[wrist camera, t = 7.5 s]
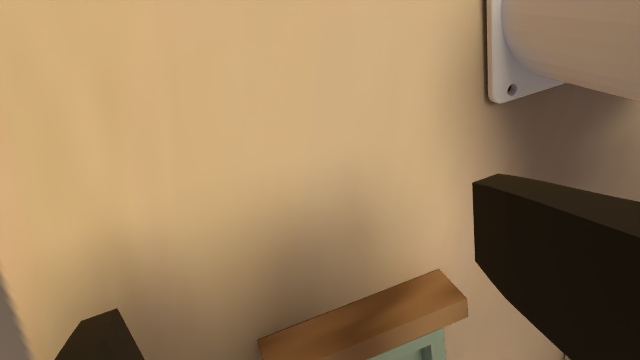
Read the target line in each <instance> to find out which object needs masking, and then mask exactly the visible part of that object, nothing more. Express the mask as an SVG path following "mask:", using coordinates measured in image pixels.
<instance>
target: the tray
mask: <svg viewBox="0 0 640 360" xmlns="http://www.w3.org/2000/svg"><path fill="white" fill-rule="evenodd" d="M366 360H446V352H445V340H444V328H443V327H442V328H440V329H438V330H435V331H433V332H430V333H428V334H426V335H423V336H421V337H419V338H416V339H414V340H411V341H409V342H407V343H404V344H402V345H400V346H397V347H395V348H392V349H390V350H388V351H385V352H383V353H381V354H378V355H376V356H373V357H371V358H369V359H366Z"/></svg>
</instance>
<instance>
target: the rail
mask: <svg viewBox="0 0 640 360" xmlns="http://www.w3.org/2000/svg"><path fill="white" fill-rule="evenodd" d="M466 317H468V307H467V298H466V297H465V296H464V295H463V294H462V293H461V292H460V291H459V290H458V288H457V287H456V286H455V285H454V284H453V283H452V282H451V281H450V280H449V279H448V278H447V277H446V276H445V275H444V274H443V273H442V272H441V271H440V270H439V269H438V270H436V271H433V272H431V273H428V274H425V275H423V276H420V277H418V278H415V279H413V280H410V281H408V282H405V283H402V284H400V285H397V286H395V287H392V288H390V289H387V290H385V291H382V292H379V293H377V294H374V295H372V296H369V297H367V298H364V299H362V300H359V301H356V302H354V303H351V304H349V305H346V306H344V307H341V308H338V309H336V310H333V311H331V312H328V313H326V314H323V315H321V316H318V317H315V318H313V319H310V320H308V321H305V322H303V323H300V324H298V325H295V326H292V327H290V328H287V329H285V330H282V331H280V332H277V333H275V334H272V335H269V336H267V337H264V338H262V339H259V340H258V343H259V347H260V351H261V354H262V358H263V360H366V359H369V358H371V357H373V356H376V355H378V354H381V353H383V352H385V351H388V350H390V349H392V348H395V347H397V346H400V345H402V344H404V343H407V342H409V341H411V340H414V339H416V338H419V337H421V336H423V335H426V334H428V333H430V332H433V331H435V330H438V329H440V328H442V327H445V326H447V325H449V324H452V323H454V322H457V321H459V320H461V319H464V318H466Z"/></svg>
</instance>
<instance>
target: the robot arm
mask: <svg viewBox="0 0 640 360" xmlns="http://www.w3.org/2000/svg"><path fill="white" fill-rule="evenodd" d="M487 56H488V96H489V99H490V100H491V101H493V102H495V103H498V104H501V103H505V102H508V101H511V100H514V99H518V98H521V97H524V96H527V95H530V94H533V93H536V92H540V91H543V90H546V89H549V88H552V87H555V86H558V85H562V84H565V83H569V84H573V85H577V86H581V87H585V88H589V89H593V90H596V91H600V92H604V93H608V94H612V95H616V96H620V97H624V98H628V99H631V100H635V101H639V102H640V0H487ZM510 85H511V90H510V91H509V92H508V93H507V90H508V88H509V86H510ZM472 186H473V214H474V242H475V261H476V263H477V264H478V265H479V266H480V268H481V269H482V270H483V272H484V273H485V274H486V275H487V277H488V278H489V279H490V280H491V282H492V283H493V284H494V285H495V286H496V288H497V289H498V290H499V291H500V292H501V293H502V295H503V296H504V297H505V298H506V299H507V300H508V301H509V302H510V303H511V304H512V305H513V306H514V307H515V308H516V309H517V310H518V311H519V312H520V313H521V314H522V315H524V316H525V317H526V318H527V319H528V320H529V321H530V322H531V323H532V324H533V325H534V326H535V327H536V328H537V329H538V330H539V331H540V332H542V333H543V334H544V335H545V336H546V337H547V338H548V339H549V340H550V341H551V342H552V343H553V344H554V345H555V346H557V347H558V348H559V349H560V350H561V351H562V352H563V353H564V354H565V355H566V356H567V357H568V358H569V359H571V360H640V202H637V201H632V200H627V199H622V198H617V197H612V196H607V195H603V194H598V193H593V192H589V191H584V190H579V189H575V188H570V187H566V186H561V185H556V184H552V183H547V182H543V181H538V180H533V179H528V178H522V177H517V176H511V175H503V174H496V175H493V176H490V177H487V178H484V179H482V180H479V181H476V182H473V183H472ZM55 360H144V358H143V356H142V354H141V352H140V350H139V348H138V346H137V345H136V343H135V341H134V339H133V337H132V335H131V333H130V331H129V330H128V328H127V326H126V324H125V322H124V320H123V318H122V316H121V315H120V313H119V311H118V309H114V310H111V311H108V312H105V313H103V314H100V315H97V316H94V317H91V318H88V319H86V320H83V321H81V322H80V323H79V325H78V326H77V328H76V329H75V330H74V332H73V333H72V335H71V336H70V337H69V339H68V340H67V342H66V343H65V345H64V346H63V348H62V349H61V351H60V352H59V354H58V355H57V357H56V358H55Z"/></svg>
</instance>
